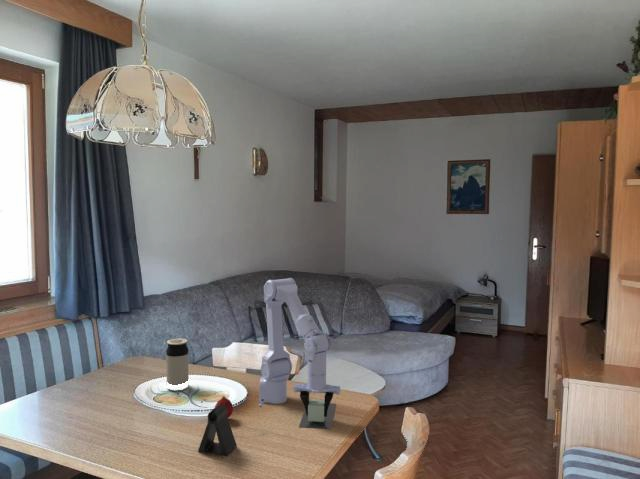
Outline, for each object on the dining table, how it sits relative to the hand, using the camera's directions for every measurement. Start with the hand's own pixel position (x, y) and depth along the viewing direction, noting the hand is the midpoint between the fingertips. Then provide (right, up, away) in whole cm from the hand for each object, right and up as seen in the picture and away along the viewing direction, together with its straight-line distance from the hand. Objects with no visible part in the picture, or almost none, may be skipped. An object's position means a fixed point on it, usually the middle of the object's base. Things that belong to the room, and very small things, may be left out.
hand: (316, 415), depth 155 cm
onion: (-30, -3, +3) cm, 30 cm away
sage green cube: (0, -1, 0) cm, 1 cm away
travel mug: (-53, -1, +32) cm, 62 cm away
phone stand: (-28, -4, -16) cm, 32 cm away
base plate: (+1, -3, +5) cm, 6 cm away
